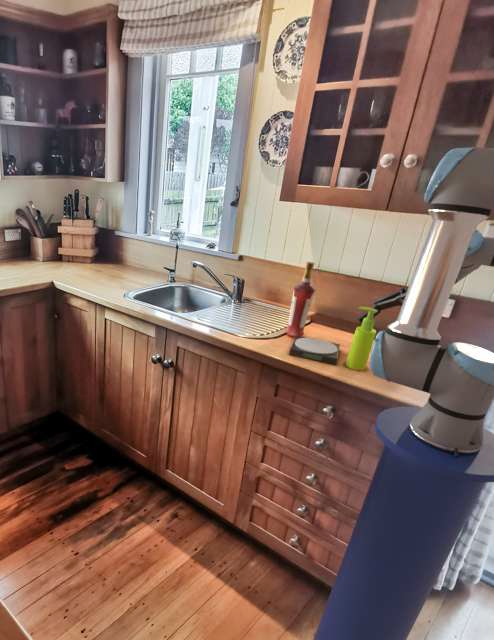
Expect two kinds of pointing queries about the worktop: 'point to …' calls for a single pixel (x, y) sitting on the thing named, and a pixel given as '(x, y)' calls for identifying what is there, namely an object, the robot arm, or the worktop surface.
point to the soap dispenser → (362, 342)
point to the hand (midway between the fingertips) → (370, 329)
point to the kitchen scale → (315, 349)
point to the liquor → (301, 304)
